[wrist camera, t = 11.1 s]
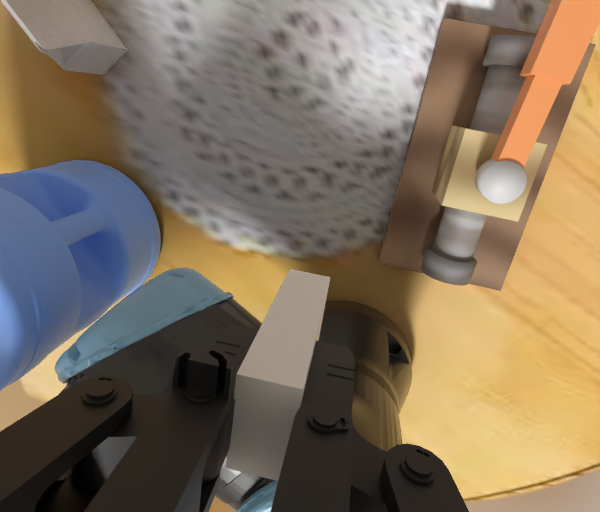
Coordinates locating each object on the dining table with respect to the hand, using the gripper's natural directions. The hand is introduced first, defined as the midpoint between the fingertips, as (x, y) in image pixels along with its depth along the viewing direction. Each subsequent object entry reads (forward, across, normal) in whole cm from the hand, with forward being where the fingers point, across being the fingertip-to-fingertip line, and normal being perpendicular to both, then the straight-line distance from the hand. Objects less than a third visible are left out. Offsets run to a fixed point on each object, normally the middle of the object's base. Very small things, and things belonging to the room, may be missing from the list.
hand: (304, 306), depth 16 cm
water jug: (+29, +26, +10) cm, 40 cm away
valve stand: (+28, -11, -4) cm, 31 cm away
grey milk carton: (+29, +27, -10) cm, 41 cm away
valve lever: (+20, -12, -9) cm, 25 cm away
